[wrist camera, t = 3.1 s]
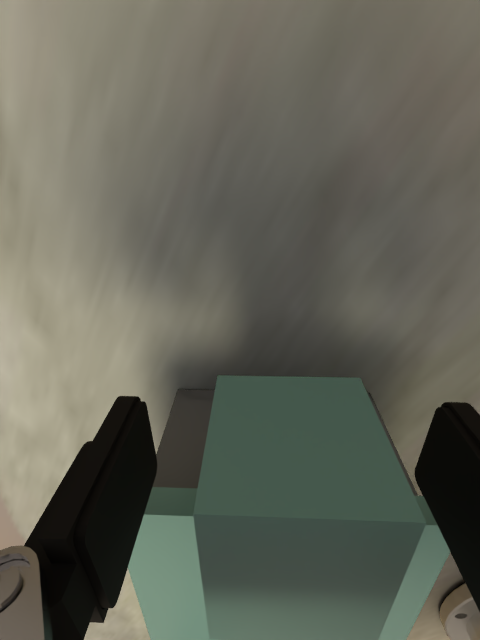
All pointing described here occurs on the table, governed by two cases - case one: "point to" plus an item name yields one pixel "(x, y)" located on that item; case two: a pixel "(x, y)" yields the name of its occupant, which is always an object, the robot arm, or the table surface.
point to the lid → (288, 523)
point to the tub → (199, 440)
